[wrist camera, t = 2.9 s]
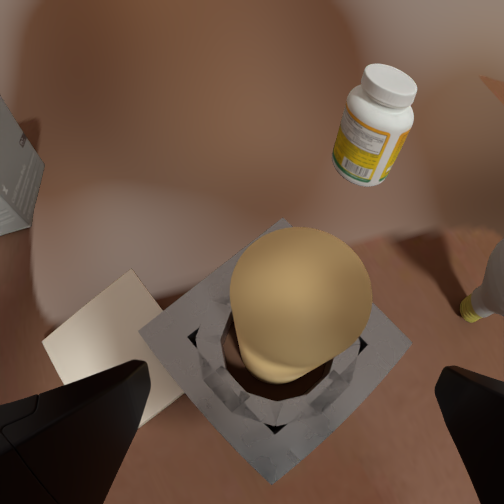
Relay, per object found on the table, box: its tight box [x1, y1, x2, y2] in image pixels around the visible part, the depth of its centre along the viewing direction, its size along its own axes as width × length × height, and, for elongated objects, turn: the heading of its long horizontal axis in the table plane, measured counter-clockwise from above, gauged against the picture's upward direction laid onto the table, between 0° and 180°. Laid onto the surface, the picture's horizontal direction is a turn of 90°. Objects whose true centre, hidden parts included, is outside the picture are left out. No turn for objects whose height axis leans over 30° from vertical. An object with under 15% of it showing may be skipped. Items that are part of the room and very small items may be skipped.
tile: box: [42, 269, 185, 428], centre depth 19 cm, size 9×9×1 cm
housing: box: [138, 218, 412, 485], centre depth 19 cm, size 12×12×2 cm
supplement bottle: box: [332, 64, 417, 186], centre depth 23 cm, size 5×5×10 cm
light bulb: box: [460, 239, 504, 322], centre depth 16 cm, size 6×6×10 cm
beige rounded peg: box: [230, 227, 372, 385], centre depth 15 cm, size 5×5×11 cm
